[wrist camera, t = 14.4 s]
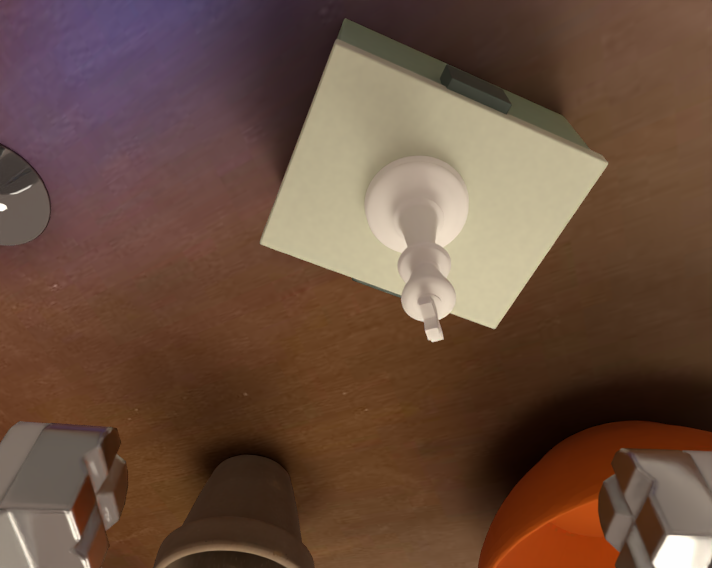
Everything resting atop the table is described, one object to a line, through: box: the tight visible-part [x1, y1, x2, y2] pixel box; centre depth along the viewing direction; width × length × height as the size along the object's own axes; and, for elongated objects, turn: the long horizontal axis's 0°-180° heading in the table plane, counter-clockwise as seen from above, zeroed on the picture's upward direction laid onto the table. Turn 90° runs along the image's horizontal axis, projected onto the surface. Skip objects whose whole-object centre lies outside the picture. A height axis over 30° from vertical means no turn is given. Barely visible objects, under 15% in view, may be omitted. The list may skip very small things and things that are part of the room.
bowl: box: [478, 420, 712, 568], centre depth 46 cm, size 25×25×10 cm
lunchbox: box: [260, 18, 608, 329], centre depth 32 cm, size 13×11×7 cm
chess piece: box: [364, 156, 469, 342], centre depth 25 cm, size 5×5×10 cm
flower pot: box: [153, 455, 314, 568], centre depth 47 cm, size 12×11×10 cm
